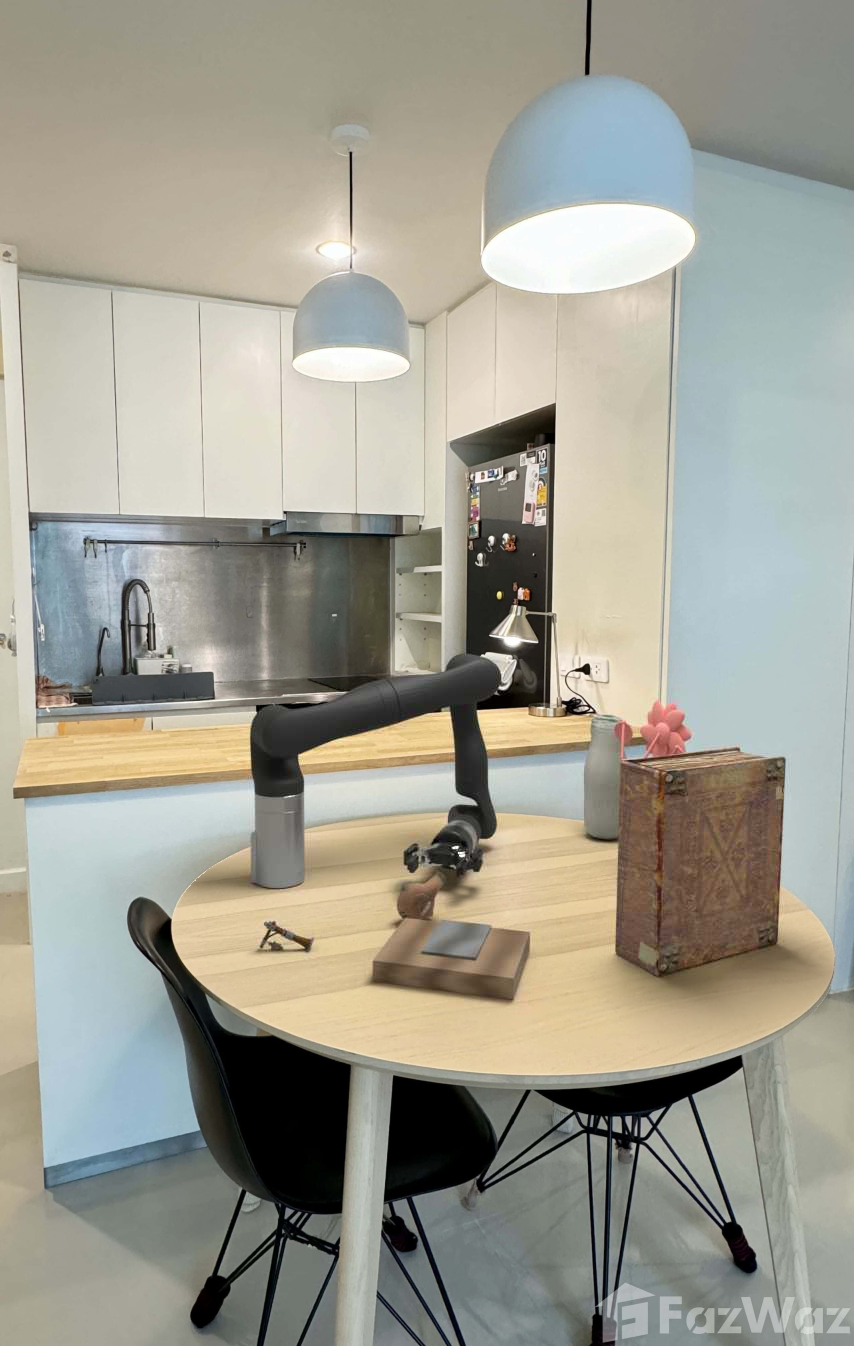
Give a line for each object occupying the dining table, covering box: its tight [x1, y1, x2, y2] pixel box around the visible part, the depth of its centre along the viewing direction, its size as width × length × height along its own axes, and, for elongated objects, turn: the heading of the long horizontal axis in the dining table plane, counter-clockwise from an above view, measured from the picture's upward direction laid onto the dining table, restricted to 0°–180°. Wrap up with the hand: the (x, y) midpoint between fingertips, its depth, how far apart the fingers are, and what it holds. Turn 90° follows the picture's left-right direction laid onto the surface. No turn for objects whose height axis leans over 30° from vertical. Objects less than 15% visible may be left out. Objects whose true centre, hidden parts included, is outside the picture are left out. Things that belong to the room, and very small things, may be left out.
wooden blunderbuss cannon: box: [259, 920, 315, 953], centre depth 127 cm, size 2×8×4 cm, turn 91°
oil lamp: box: [396, 870, 446, 920], centre depth 138 cm, size 9×4×8 cm, turn 117°
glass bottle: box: [583, 714, 628, 840], centre depth 185 cm, size 10×10×28 cm
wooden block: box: [372, 918, 531, 1001], centre depth 122 cm, size 20×16×3 cm
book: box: [614, 746, 787, 978], centre depth 127 cm, size 25×9×30 cm, turn 118°
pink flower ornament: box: [614, 699, 692, 761], centre depth 156 cm, size 15×26×35 cm, turn 25°
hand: (434, 870), depth 146 cm, fingers open, 8 cm apart
